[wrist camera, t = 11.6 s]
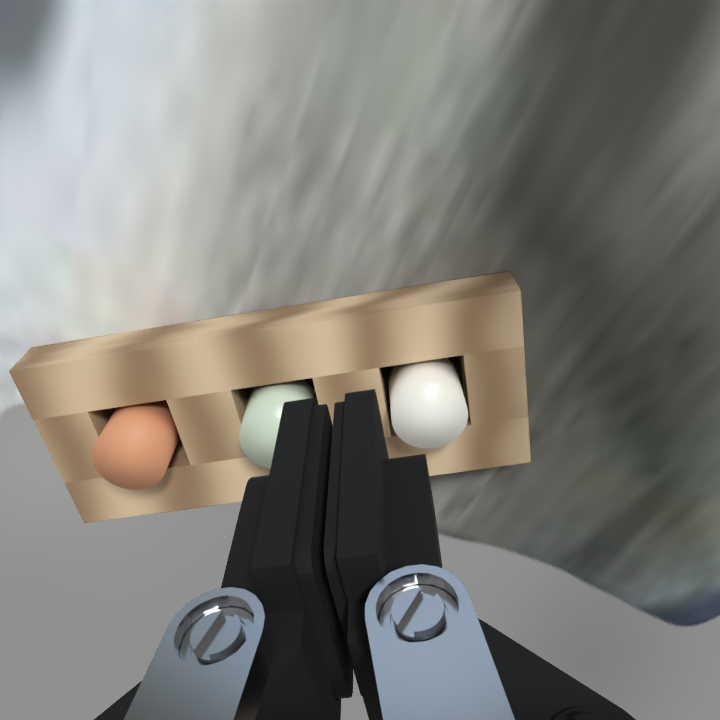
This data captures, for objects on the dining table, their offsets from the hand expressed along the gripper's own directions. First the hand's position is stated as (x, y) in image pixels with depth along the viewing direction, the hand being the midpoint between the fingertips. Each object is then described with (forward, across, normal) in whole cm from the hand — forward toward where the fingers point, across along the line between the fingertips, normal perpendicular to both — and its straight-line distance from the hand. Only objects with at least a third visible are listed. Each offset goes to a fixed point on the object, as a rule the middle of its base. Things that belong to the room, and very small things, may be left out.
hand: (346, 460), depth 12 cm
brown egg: (+25, +16, +14) cm, 33 cm away
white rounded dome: (+25, -2, +14) cm, 29 cm away
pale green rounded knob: (+25, +7, +14) cm, 30 cm away
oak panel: (+26, +7, +14) cm, 31 cm away
